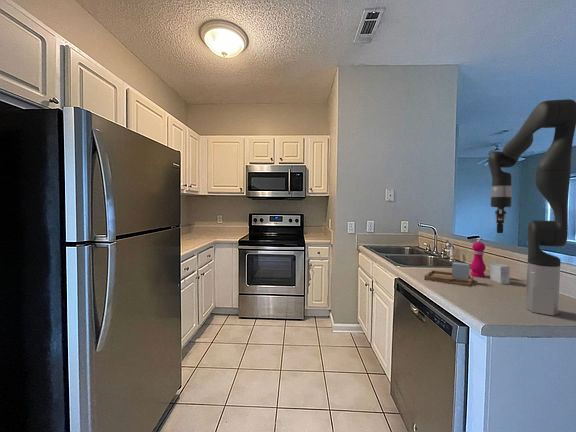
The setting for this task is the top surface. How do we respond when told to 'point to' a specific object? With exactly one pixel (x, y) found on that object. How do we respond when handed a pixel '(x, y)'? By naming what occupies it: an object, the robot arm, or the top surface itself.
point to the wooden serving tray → (447, 278)
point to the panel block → (460, 271)
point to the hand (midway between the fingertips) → (499, 232)
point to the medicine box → (500, 273)
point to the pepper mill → (478, 260)
